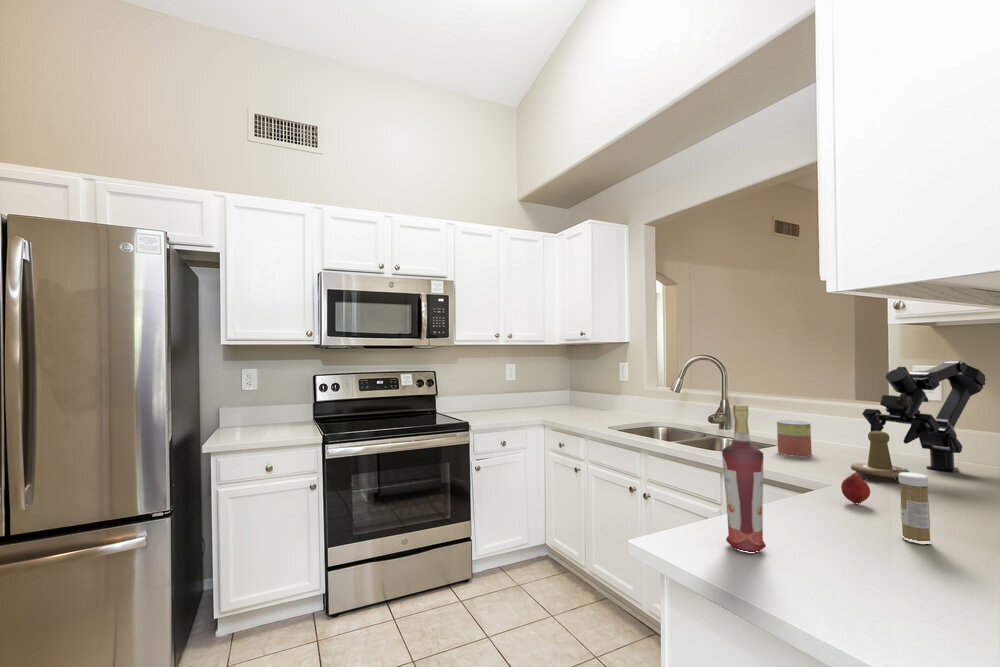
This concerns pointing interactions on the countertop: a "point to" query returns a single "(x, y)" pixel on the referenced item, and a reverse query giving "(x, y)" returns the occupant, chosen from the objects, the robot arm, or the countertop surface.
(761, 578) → the countertop surface
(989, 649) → the countertop surface
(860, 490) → the onion
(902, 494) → the sprinkles bottle
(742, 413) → the liquor
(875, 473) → the brown shallow bowl
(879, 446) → the cork
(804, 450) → the canned food
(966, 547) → the countertop surface
